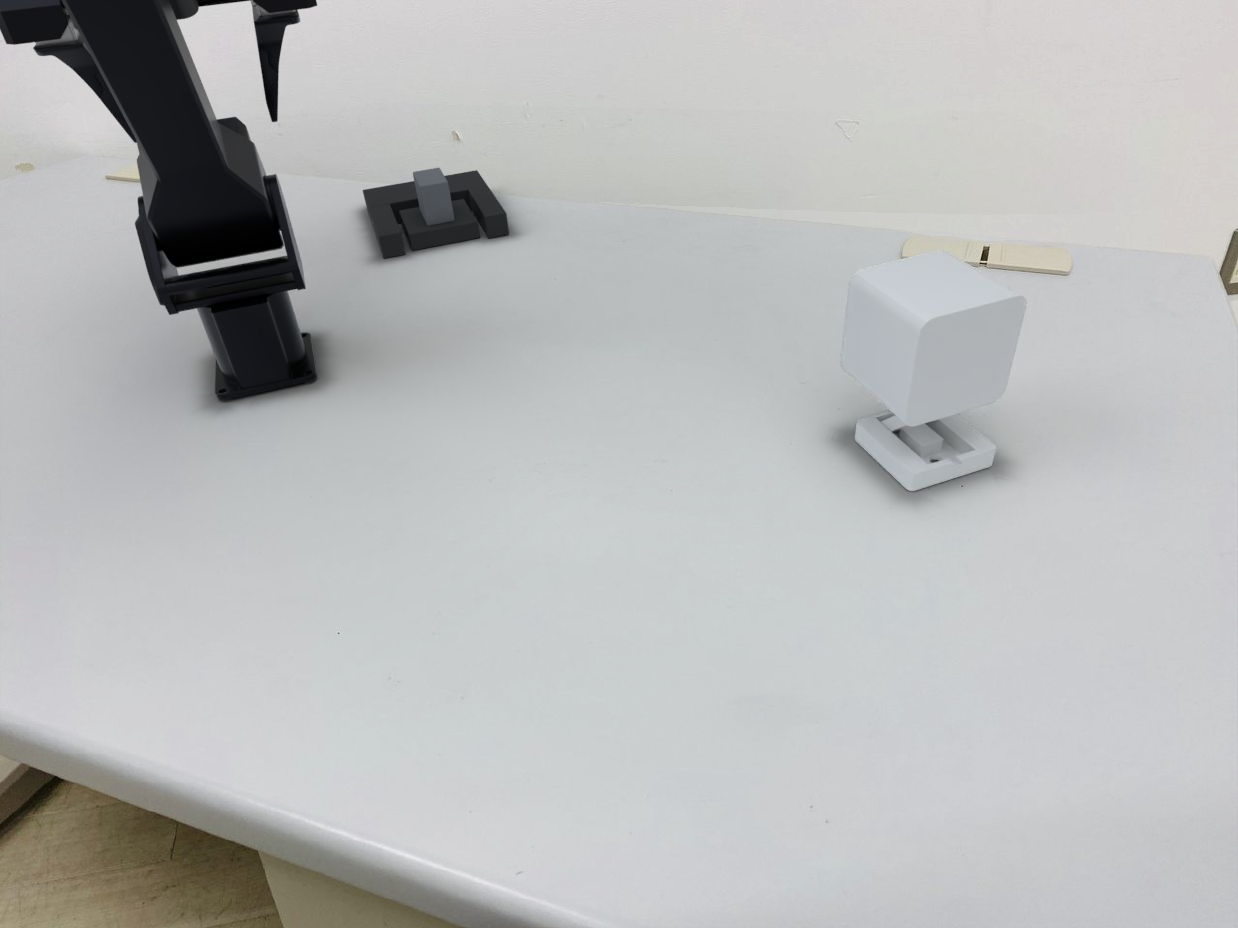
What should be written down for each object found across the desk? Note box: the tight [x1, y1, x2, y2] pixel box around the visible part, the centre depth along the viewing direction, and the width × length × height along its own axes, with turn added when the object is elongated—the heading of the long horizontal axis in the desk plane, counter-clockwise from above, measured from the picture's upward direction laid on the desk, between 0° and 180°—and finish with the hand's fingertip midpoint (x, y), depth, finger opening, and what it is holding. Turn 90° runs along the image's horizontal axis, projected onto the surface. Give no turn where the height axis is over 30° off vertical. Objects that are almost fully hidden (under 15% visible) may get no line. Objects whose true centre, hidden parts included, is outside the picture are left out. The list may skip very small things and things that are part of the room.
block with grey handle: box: [399, 167, 481, 251], centre depth 78 cm, size 6×6×5 cm
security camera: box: [839, 249, 1028, 492], centre depth 48 cm, size 6×7×10 cm
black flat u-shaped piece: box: [362, 169, 510, 259], centre depth 81 cm, size 12×11×2 cm
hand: (207, 131), depth 63 cm, fingers open, 9 cm apart
